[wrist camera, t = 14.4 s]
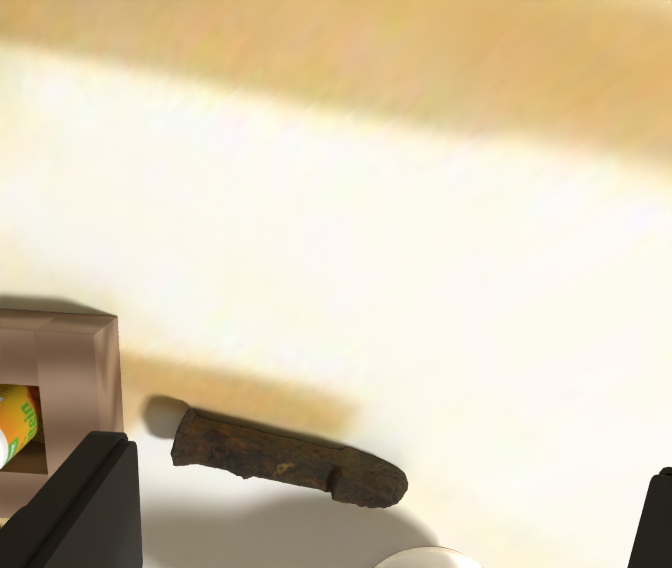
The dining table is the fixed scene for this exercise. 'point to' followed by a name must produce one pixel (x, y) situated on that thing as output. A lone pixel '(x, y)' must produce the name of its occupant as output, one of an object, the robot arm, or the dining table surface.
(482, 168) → the dining table surface
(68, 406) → the collar block
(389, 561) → the decorative vase
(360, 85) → the dining table surface
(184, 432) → the hand tool
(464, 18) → the dining table surface
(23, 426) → the supplement bottle
